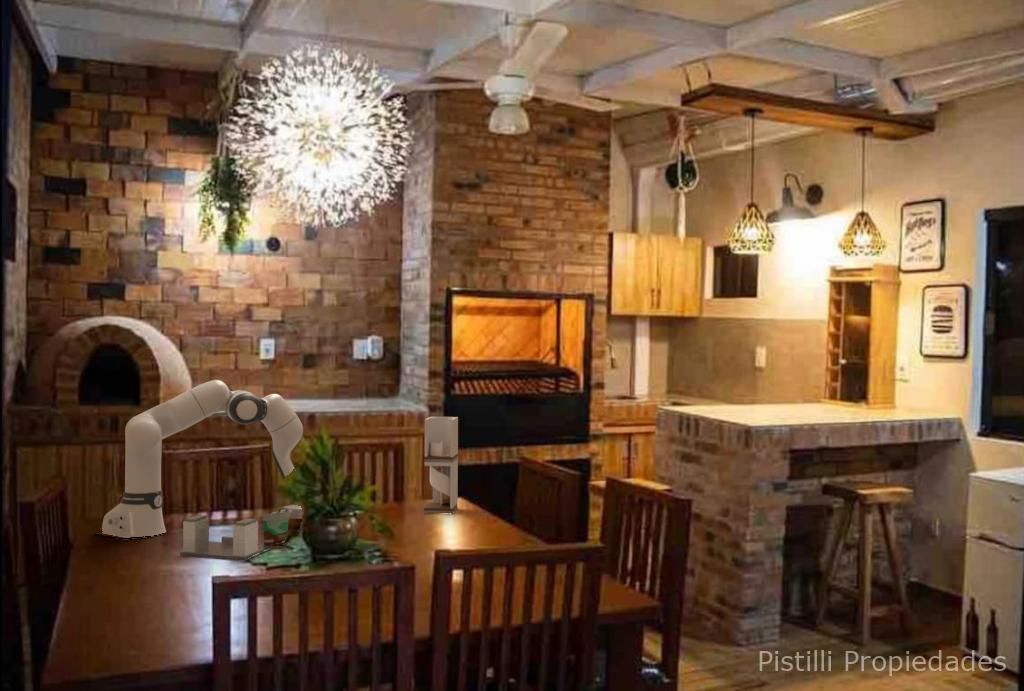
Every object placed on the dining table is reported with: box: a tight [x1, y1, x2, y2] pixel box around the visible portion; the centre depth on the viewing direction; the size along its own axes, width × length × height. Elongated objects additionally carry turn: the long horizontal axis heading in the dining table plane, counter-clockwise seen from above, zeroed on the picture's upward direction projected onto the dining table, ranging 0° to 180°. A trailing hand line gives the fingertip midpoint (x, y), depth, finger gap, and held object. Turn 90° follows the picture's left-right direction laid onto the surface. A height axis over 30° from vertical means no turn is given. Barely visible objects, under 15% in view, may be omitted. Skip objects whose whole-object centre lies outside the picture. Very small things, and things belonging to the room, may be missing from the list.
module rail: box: [179, 514, 273, 561], centre depth 277 cm, size 22×15×11 cm
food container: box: [261, 506, 291, 546], centre depth 292 cm, size 12×6×10 cm, turn 168°
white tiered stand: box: [423, 416, 459, 515], centre depth 344 cm, size 11×11×35 cm
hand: (300, 517), depth 305 cm, fingers open, 8 cm apart
